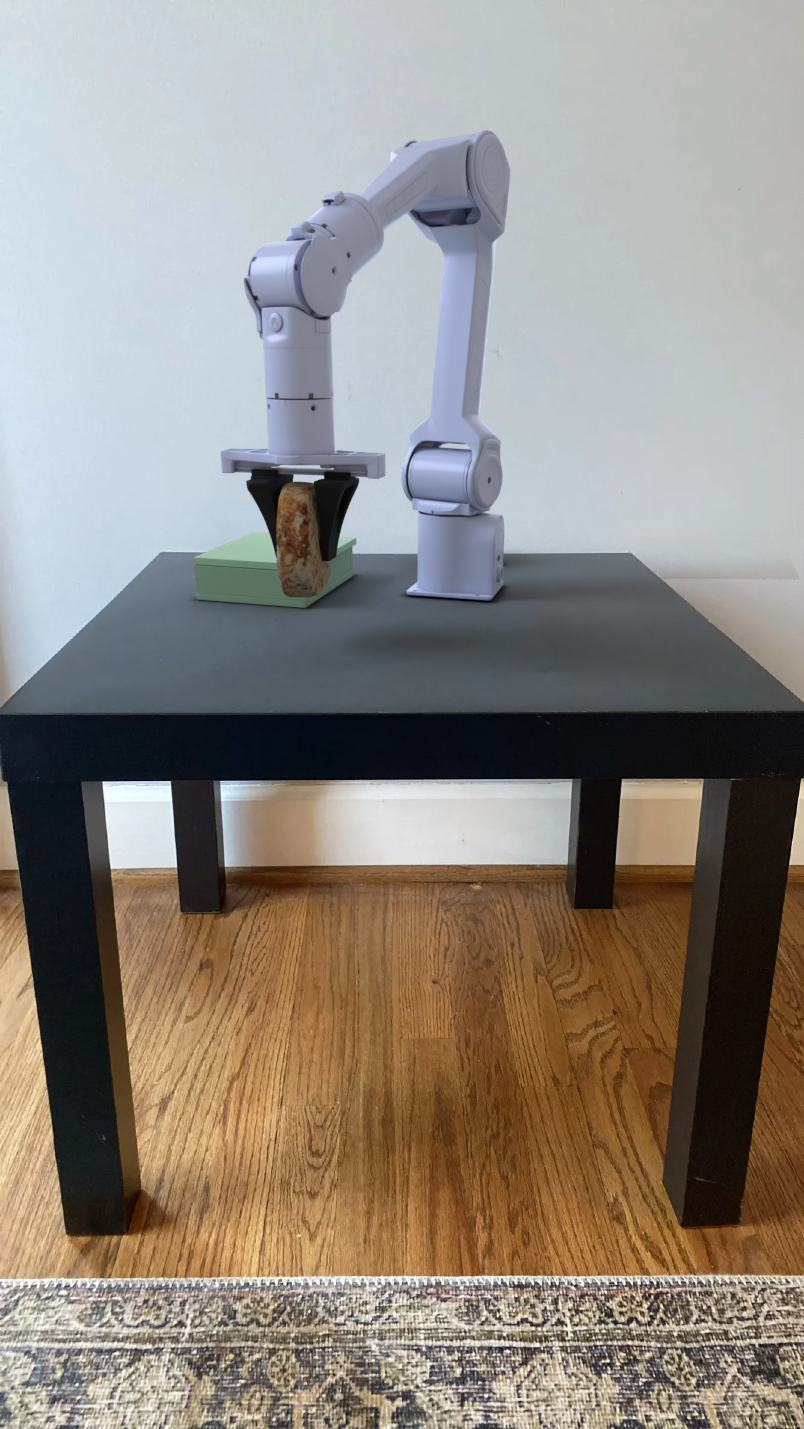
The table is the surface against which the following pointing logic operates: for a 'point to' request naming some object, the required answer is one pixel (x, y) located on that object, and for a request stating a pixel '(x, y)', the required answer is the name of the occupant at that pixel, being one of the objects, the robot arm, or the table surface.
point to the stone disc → (300, 542)
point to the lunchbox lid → (253, 552)
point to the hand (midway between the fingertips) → (305, 557)
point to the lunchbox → (262, 583)
